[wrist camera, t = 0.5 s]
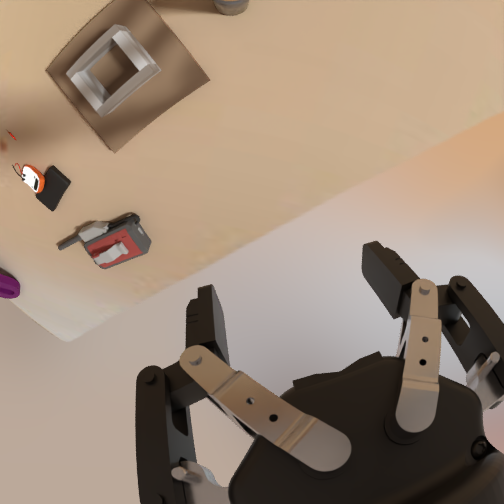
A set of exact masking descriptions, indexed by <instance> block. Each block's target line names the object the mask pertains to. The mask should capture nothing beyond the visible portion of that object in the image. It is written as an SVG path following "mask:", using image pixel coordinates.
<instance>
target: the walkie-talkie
mask: <svg viewBox="0 0 504 504" xmlns="http://www.w3.org/2000/svg"><path fill="white" fill-rule="evenodd" d="M139 221H140V218H139V216H138V215H131V216H129V217H127V218H125V219H122V220H120V221H118V222H116V223H110V224H109V222H108V223H106V222H101V221H95V222H94V223H92V224H90V225H88V226H84V227H83V228H82V229H81V230H80V232H79V233H78V235H77V236H75V237H73V238H72V239H70V240H68V241H66V242H65V243H63V244H61V245H59V246H58V249H59V250H63V249H64V248H66V247H68V246H70V245H72V244H74V243H76V242H78V241H81V240H83V241H84V242H85V244H84V247H85V250H86V251H87V252H88V254H89V255H90V256H91V257H92V258H93V260H94V262H95V264H97V265H98V266H99V267H100V268H102V269H107V268H110V267H113V266H115V265H118V264H120V263H122V262H126V261H128V260H131V259H133V258H136V257H138V256H141V255H143V254H146V253H148V250H149V247H150V244H151V240H150V238H149V237H148V235H147V234H146V233H145V231H144V230H143V228H142V227H141V225H140V224H139Z"/></svg>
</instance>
